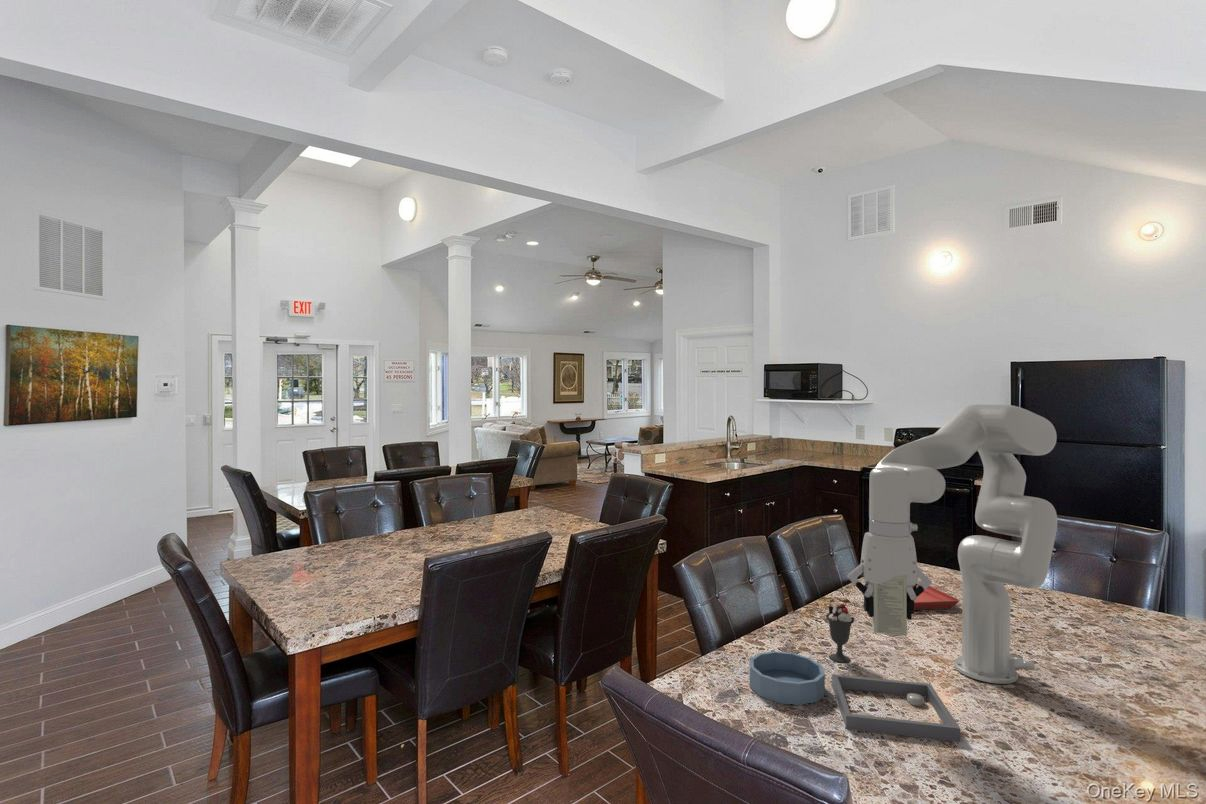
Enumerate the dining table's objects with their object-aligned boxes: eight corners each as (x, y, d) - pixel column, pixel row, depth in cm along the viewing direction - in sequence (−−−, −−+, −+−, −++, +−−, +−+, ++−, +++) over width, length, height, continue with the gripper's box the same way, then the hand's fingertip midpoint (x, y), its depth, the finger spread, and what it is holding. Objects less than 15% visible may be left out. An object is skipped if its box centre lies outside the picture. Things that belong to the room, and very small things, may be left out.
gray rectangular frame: (930, 695, 130) (930, 683, 130) (960, 742, 113) (960, 728, 113) (831, 685, 134) (831, 674, 134) (846, 728, 117) (846, 715, 117)
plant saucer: (871, 593, 199) (871, 583, 199) (923, 592, 201) (923, 582, 201) (905, 613, 181) (905, 602, 181) (961, 611, 183) (961, 600, 183)
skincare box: (903, 629, 125) (904, 570, 125) (907, 637, 121) (907, 576, 120) (870, 625, 127) (870, 567, 127) (872, 633, 123) (873, 573, 122)
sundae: (857, 665, 144) (857, 603, 144) (827, 663, 146) (828, 601, 146) (851, 654, 151) (852, 594, 151) (823, 651, 152) (823, 592, 152)
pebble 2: (921, 700, 128) (921, 694, 128) (925, 708, 125) (925, 701, 125) (905, 698, 129) (905, 692, 129) (909, 706, 126) (909, 699, 126)
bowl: (818, 674, 140) (818, 655, 140) (828, 708, 124) (828, 686, 124) (749, 667, 143) (749, 648, 143) (750, 700, 128) (750, 678, 128)
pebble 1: (871, 719, 121) (871, 712, 121) (875, 728, 118) (875, 721, 118) (854, 717, 121) (854, 710, 121) (857, 726, 118) (857, 719, 118)
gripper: (929, 526, 125) (929, 613, 126) (840, 523, 129) (840, 606, 129) (941, 535, 118) (941, 626, 118) (847, 530, 122) (846, 619, 122)
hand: (888, 615), depth 124 cm, fingers closed on skincare box, 6 cm apart
